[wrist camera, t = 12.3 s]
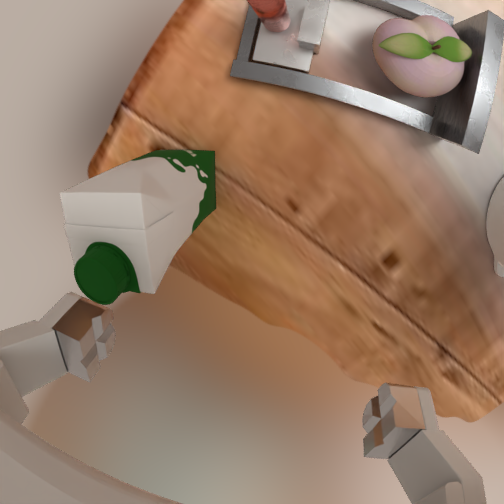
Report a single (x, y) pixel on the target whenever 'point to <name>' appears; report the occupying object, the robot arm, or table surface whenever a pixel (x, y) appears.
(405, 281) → the table surface
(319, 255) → the table surface
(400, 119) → the press base
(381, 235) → the table surface
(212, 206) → the milk carton
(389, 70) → the decorative fruit
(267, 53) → the handle
